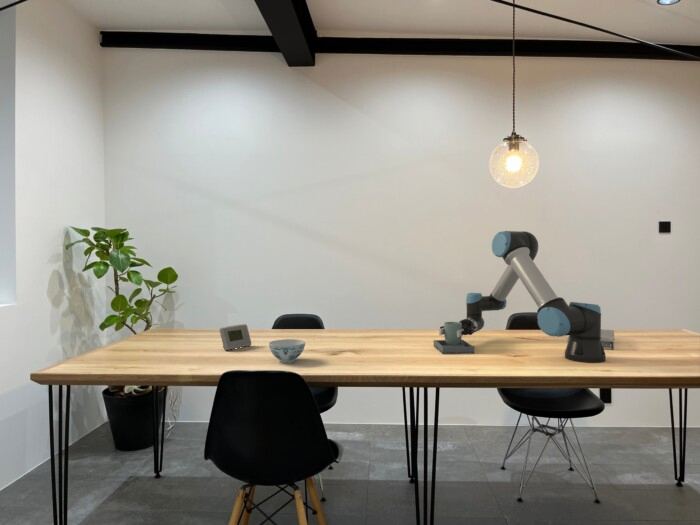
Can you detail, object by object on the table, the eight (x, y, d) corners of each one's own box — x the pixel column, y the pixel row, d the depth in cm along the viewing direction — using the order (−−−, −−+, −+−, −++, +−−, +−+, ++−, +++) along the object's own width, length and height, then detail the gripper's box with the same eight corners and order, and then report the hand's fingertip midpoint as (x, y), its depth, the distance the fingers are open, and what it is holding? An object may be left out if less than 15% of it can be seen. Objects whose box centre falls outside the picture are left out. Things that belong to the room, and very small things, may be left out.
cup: (457, 347, 210) (457, 324, 210) (441, 345, 215) (441, 323, 215) (464, 344, 216) (464, 322, 216) (448, 342, 221) (448, 321, 221)
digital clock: (224, 351, 215) (224, 328, 215) (215, 349, 222) (215, 326, 222) (255, 347, 226) (255, 325, 226) (245, 344, 233) (245, 323, 233)
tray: (474, 353, 207) (474, 347, 207) (442, 354, 206) (442, 347, 206) (462, 345, 225) (462, 339, 225) (433, 346, 224) (433, 340, 224)
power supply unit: (567, 348, 220) (567, 337, 220) (573, 337, 249) (573, 327, 249) (614, 351, 211) (614, 340, 211) (614, 339, 240) (614, 330, 240)
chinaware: (265, 358, 200) (265, 340, 200) (300, 355, 205) (300, 338, 205) (272, 366, 186) (272, 347, 186) (309, 363, 191) (309, 344, 191)
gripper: (488, 336, 225) (471, 343, 206) (447, 332, 236) (427, 339, 218) (488, 320, 224) (471, 326, 206) (447, 317, 236) (427, 323, 217)
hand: (448, 333), depth 212 cm, fingers closed on cup, 8 cm apart
